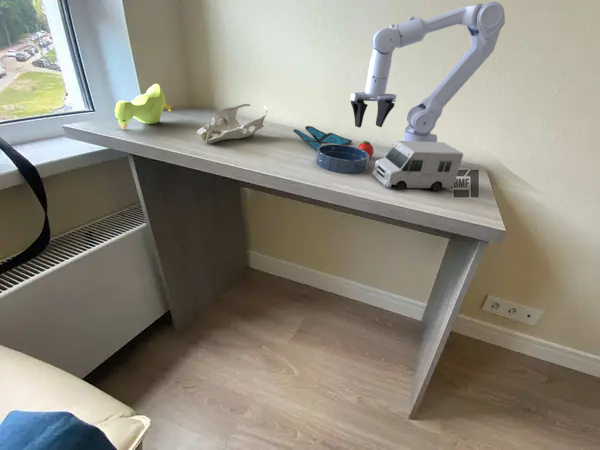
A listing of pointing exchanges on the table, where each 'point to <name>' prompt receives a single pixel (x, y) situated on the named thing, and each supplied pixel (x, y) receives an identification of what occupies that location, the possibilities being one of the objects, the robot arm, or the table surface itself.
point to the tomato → (366, 147)
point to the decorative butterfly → (321, 137)
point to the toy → (142, 107)
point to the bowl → (342, 158)
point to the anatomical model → (229, 126)
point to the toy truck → (419, 165)
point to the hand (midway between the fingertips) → (368, 126)
